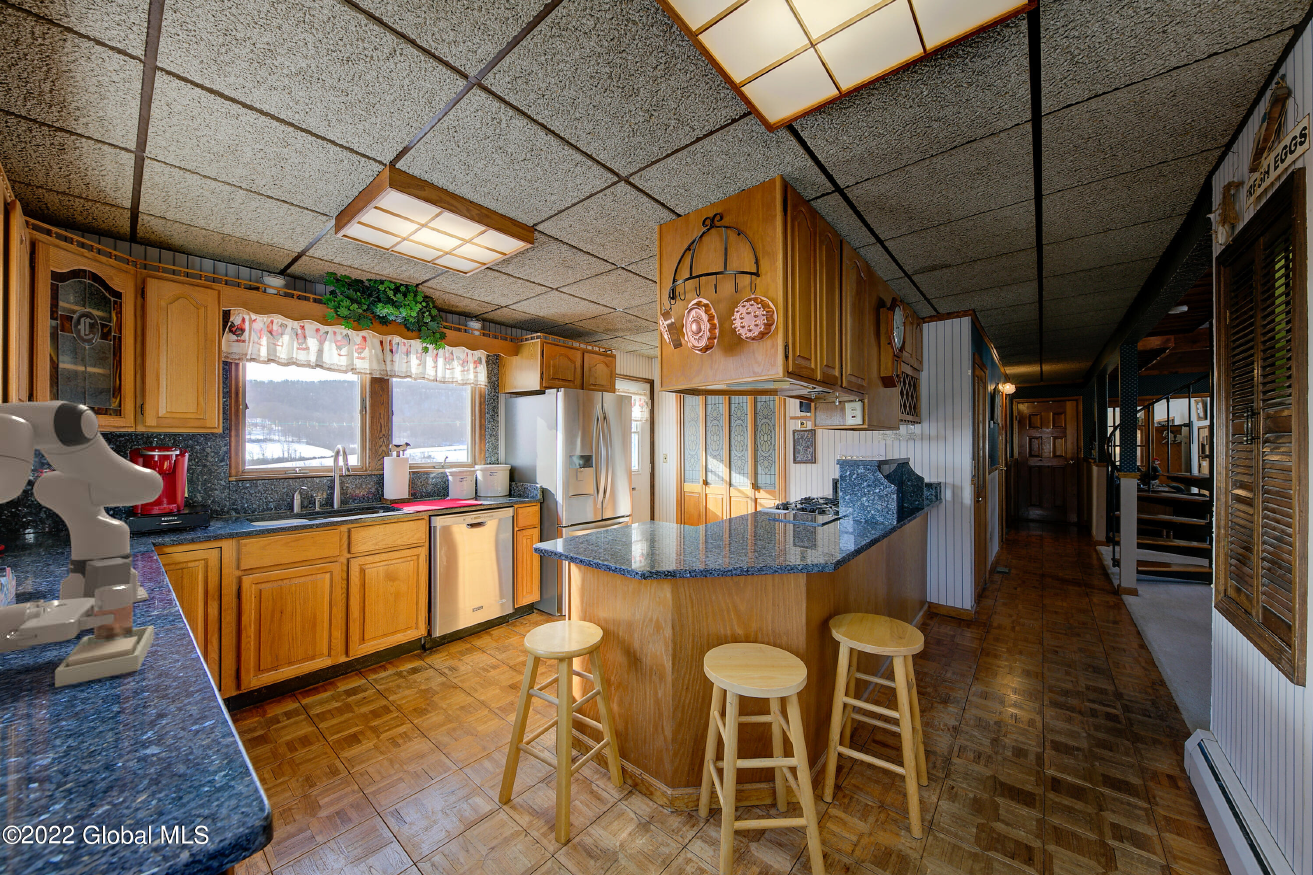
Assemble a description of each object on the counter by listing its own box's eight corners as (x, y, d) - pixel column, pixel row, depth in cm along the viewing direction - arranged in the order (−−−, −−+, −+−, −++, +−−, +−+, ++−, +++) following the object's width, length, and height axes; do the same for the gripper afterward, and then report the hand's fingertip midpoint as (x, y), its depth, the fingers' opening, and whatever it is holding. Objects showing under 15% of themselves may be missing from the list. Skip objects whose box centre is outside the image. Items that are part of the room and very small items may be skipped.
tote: (83, 655, 109) (83, 636, 109) (153, 642, 116) (153, 625, 116) (55, 692, 93) (55, 670, 93) (138, 674, 100) (138, 654, 100)
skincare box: (80, 624, 128) (80, 561, 128) (119, 615, 134) (119, 556, 134) (92, 629, 124) (92, 565, 124) (132, 620, 130) (132, 559, 130)
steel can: (97, 652, 108) (97, 587, 108) (134, 645, 112) (135, 582, 112) (90, 661, 104) (91, 593, 104) (129, 653, 107) (130, 588, 107)
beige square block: (79, 666, 101) (79, 646, 101) (137, 655, 106) (137, 636, 106) (68, 681, 95) (68, 660, 95) (130, 669, 100) (130, 648, 100)
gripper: (-3, 625, 91) (108, 609, 100) (34, 598, 107) (127, 586, 116) (-3, 660, 91) (108, 640, 100) (34, 628, 107) (127, 613, 116)
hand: (119, 611), depth 108 cm, fingers open, 8 cm apart
